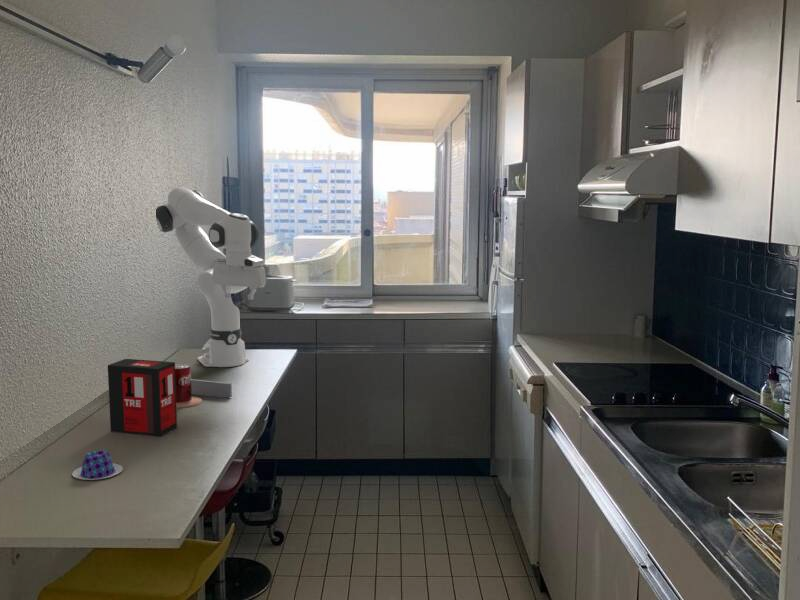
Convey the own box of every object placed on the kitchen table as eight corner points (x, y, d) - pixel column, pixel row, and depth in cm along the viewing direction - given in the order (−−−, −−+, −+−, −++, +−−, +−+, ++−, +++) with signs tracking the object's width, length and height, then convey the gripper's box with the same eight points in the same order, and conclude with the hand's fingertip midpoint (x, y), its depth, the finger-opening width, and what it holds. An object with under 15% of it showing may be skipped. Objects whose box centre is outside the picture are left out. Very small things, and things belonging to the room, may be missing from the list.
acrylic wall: (170, 391, 282) (169, 377, 282) (172, 390, 283) (171, 377, 282) (230, 398, 274) (229, 383, 273) (231, 397, 275) (231, 383, 274)
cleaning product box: (110, 431, 237) (107, 365, 234) (128, 423, 246) (125, 358, 243) (160, 436, 233) (158, 369, 230) (177, 427, 241) (174, 362, 238)
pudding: (101, 462, 212) (100, 443, 212) (133, 471, 206) (132, 451, 206) (61, 476, 202) (60, 456, 202) (93, 486, 196) (92, 465, 195)
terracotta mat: (155, 401, 270) (155, 400, 270) (193, 395, 278) (193, 394, 278) (169, 410, 260) (169, 409, 260) (208, 403, 267) (208, 402, 267)
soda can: (194, 398, 272) (193, 363, 270) (187, 404, 265) (186, 368, 263) (173, 398, 272) (172, 363, 271) (166, 404, 265) (164, 368, 263)
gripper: (208, 258, 287) (208, 297, 289) (259, 262, 280) (259, 301, 282) (218, 257, 293) (218, 295, 295) (268, 260, 286) (268, 299, 288)
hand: (239, 298), depth 289 cm, fingers open, 8 cm apart
